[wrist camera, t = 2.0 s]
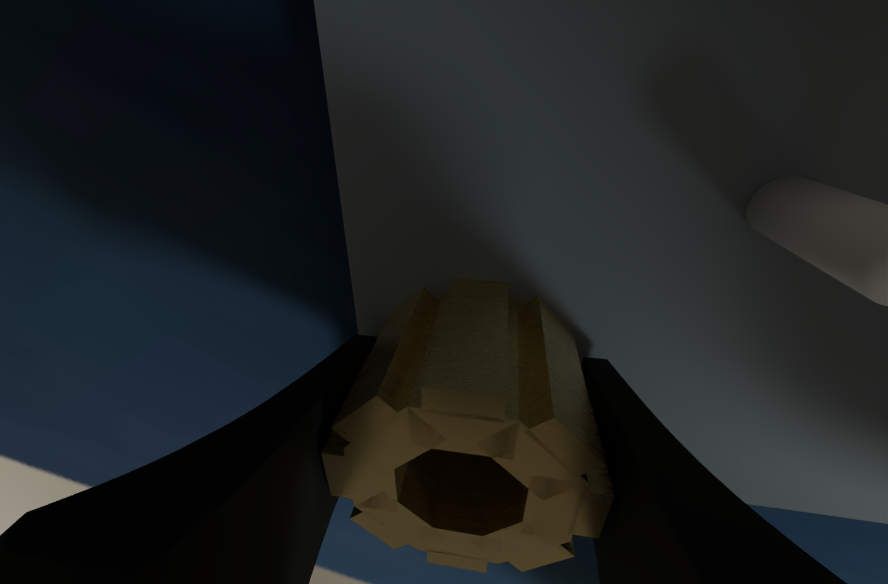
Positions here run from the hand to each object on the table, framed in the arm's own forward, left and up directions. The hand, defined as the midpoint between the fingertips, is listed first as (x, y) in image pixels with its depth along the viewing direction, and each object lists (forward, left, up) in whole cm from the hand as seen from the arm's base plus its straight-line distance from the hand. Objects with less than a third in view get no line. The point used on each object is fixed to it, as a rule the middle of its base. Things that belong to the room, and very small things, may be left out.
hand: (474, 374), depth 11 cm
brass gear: (0, 0, 0) cm, 0 cm away
